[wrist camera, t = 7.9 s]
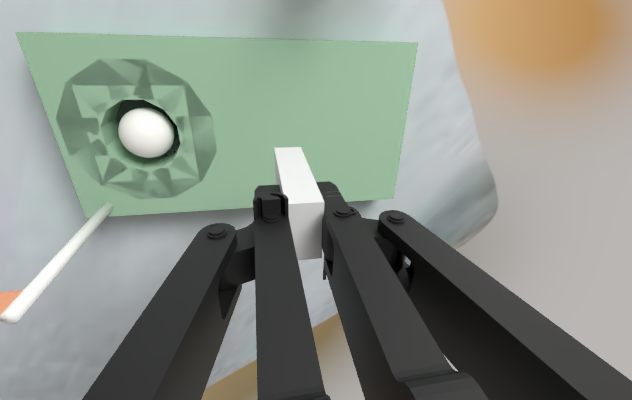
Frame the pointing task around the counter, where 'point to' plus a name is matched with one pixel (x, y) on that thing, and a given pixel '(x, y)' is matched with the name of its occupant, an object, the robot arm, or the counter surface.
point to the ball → (146, 132)
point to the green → (215, 121)
